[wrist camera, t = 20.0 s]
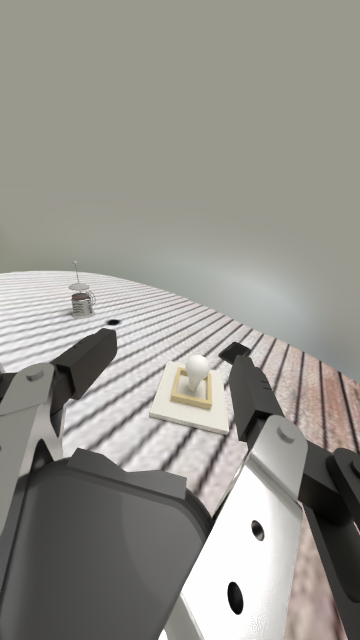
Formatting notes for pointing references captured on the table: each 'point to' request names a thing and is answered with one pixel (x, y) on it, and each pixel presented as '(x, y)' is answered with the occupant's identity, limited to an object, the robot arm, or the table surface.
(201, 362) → the lightbulb
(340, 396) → the table surface
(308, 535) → the table surface
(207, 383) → the lamp base
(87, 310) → the french press
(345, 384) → the table surface
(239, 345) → the phone
